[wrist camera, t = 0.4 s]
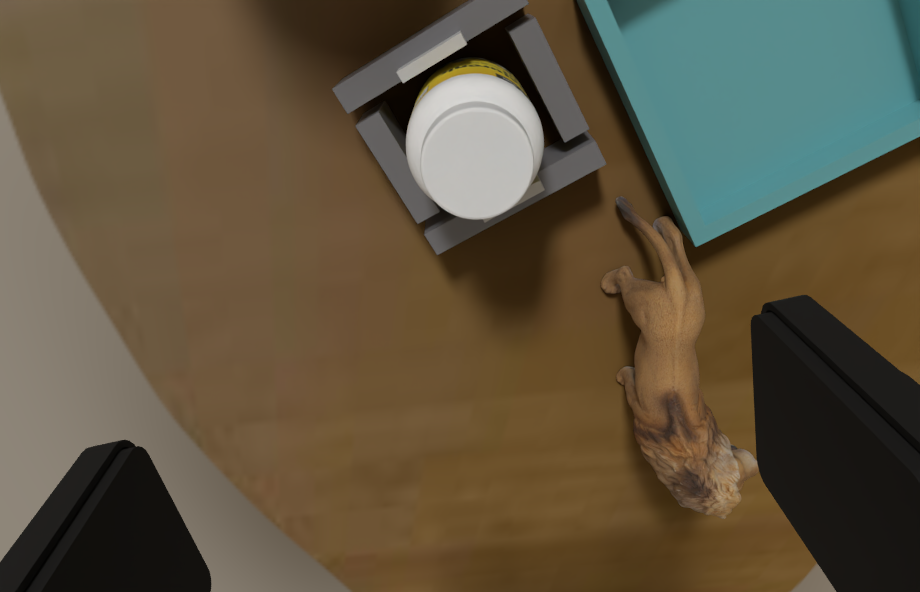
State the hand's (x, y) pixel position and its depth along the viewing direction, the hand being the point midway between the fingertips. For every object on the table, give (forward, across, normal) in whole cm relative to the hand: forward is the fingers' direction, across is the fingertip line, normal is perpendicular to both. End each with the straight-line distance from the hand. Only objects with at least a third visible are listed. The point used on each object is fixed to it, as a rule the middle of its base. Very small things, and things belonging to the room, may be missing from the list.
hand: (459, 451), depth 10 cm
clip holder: (+24, -2, 0) cm, 24 cm away
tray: (+24, -15, 0) cm, 28 cm away
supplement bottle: (+25, -2, 0) cm, 25 cm away
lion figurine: (+25, -9, +13) cm, 29 cm away
